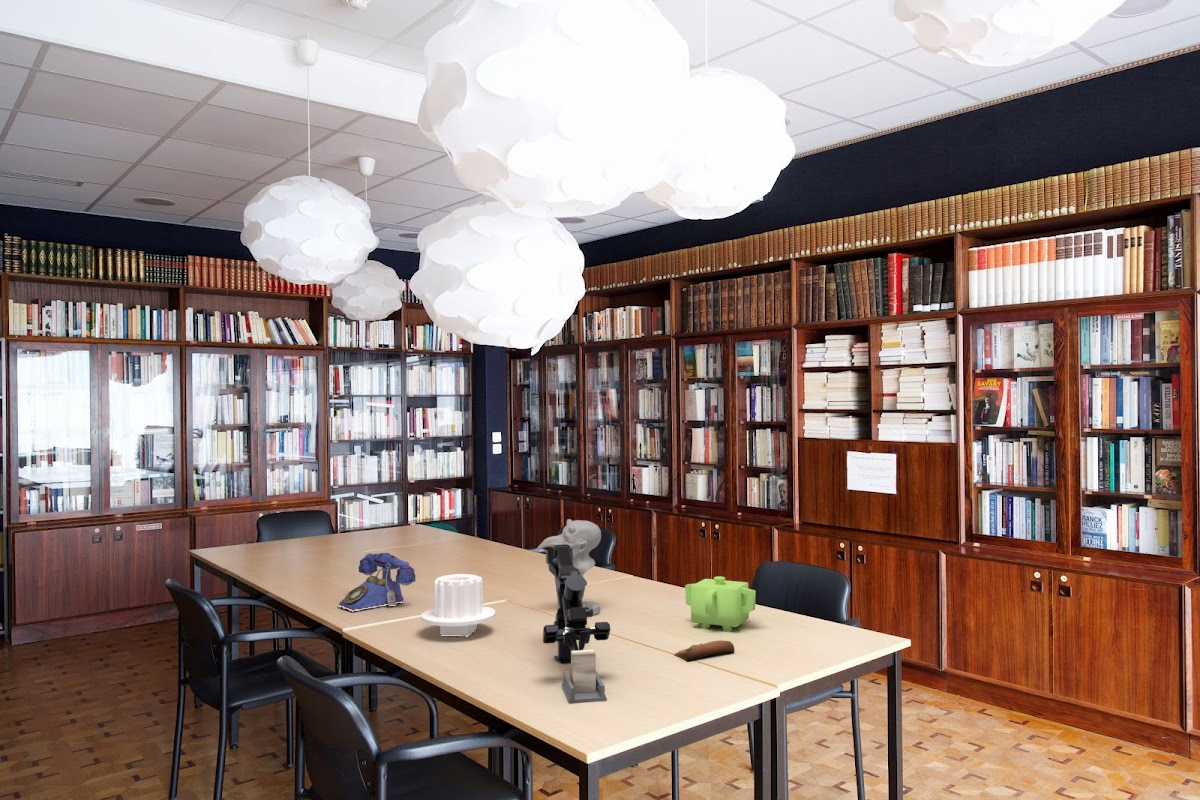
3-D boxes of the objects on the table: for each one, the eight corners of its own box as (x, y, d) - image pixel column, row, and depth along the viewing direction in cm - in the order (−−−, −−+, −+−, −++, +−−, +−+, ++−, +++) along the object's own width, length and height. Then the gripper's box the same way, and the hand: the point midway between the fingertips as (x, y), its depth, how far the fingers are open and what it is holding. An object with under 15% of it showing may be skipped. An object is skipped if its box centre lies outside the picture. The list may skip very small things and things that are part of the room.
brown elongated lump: (718, 646, 266) (724, 630, 263) (730, 662, 261) (736, 646, 258) (671, 655, 257) (677, 639, 254) (682, 672, 252) (689, 655, 249)
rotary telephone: (317, 601, 338) (317, 551, 338) (371, 592, 354) (371, 545, 355) (368, 618, 308) (367, 564, 308) (424, 607, 324) (424, 556, 325)
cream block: (571, 688, 225) (571, 650, 225) (593, 686, 226) (592, 649, 226) (573, 692, 221) (573, 655, 221) (595, 691, 222) (595, 653, 222)
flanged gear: (481, 644, 271) (480, 586, 271) (409, 641, 276) (408, 584, 276) (504, 625, 296) (504, 572, 296) (438, 622, 301) (438, 570, 301)
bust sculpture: (541, 607, 322) (540, 516, 323) (603, 607, 321) (602, 516, 322) (535, 617, 306) (534, 522, 307) (600, 617, 305) (599, 522, 305)
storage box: (674, 629, 287) (674, 579, 288) (698, 615, 307) (697, 568, 308) (744, 638, 276) (743, 586, 276) (764, 622, 296) (763, 574, 296)
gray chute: (561, 685, 229) (561, 672, 229) (597, 683, 231) (597, 669, 231) (568, 703, 216) (568, 688, 216) (606, 700, 217) (606, 685, 217)
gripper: (543, 596, 233) (548, 646, 222) (608, 593, 236) (616, 642, 225) (540, 618, 241) (545, 667, 230) (604, 614, 244) (611, 663, 233)
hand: (579, 659), depth 229 cm, fingers closed
